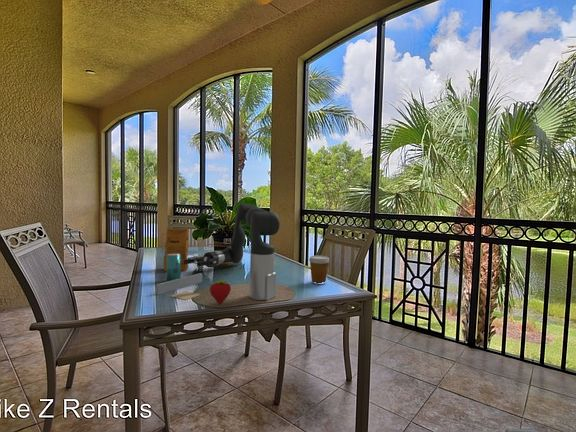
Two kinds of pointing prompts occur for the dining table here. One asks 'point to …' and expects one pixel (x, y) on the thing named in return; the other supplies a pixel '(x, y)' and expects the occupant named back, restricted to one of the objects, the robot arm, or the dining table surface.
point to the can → (173, 266)
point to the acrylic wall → (178, 283)
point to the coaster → (185, 295)
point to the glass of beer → (319, 268)
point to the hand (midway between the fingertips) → (190, 263)
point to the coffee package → (177, 245)
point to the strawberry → (220, 290)
